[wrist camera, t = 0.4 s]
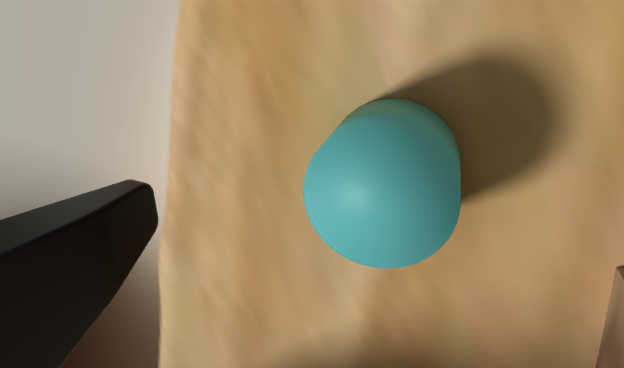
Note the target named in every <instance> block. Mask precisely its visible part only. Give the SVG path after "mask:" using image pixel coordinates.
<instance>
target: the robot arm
mask: <svg viewBox="0 0 624 368" xmlns="http://www.w3.org/2000/svg"><path fill="white" fill-rule="evenodd" d="M157 225H158V214H157V209H156V203H155V197H154V192H153V189H152V187H151V186H150V185H149V184H147V183H144V182H140V181H136V180H125V181H122V182H119V183H116V184H113V185H109V186H106V187H103V188H100V189H97V190H94V191H91V192H87V193H84V194H81V195H78V196H75V197H72V198H69V199H65V200H62V201H59V202H56V203H53V204H49V205H46V206H43V207H40V208H37V209H33V210H30V211H27V212H24V213H21V214H18V215H15V216H11V217H8V218H5V219H2V220H0V368H59V367H60V366H61V365H62V364H63V362H64V361H65V360H66V358H67V357H68V356H69V355H70V353H71V352H72V351H73V349H74V348H75V347H76V346H77V344H78V343H79V342H80V340H81V339H82V338H83V337H84V335H85V334H86V333H87V331H88V330H89V329H90V327H91V326H92V325H93V324H94V322H95V321H96V320H97V318H98V317H99V316H100V315H101V313H102V312H103V311H104V309H105V308H106V307H107V305H108V304H109V303H110V301H111V300H112V299H113V297H114V296H115V294H116V293H117V292H118V290H119V289H120V287H121V285H122V284H123V282H124V281H125V279H126V277H127V276H128V274H129V273H130V271H131V270H132V268H133V266H134V265H135V263H136V261H137V260H138V258H139V257H140V255H141V254H142V252H143V250H144V249H145V247H146V246H147V244H148V242H149V241H150V239H151V237H152V236H153V234H154V233H155V231H156V228H157Z"/></svg>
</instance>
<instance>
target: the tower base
mask: <svg viewBox="0 0 624 368" xmlns="http://www.w3.org/2000/svg"><path fill="white" fill-rule="evenodd" d="M596 368H624V268H623V267H616V271H615V276H614V281H613V286H612V291H611V296H610V301H609V306H608V311H607V315H606V320H605V325H604V330H603V335H602V340H601V345H600V350H599V355H598V360H597V365H596Z"/></svg>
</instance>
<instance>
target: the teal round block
mask: <svg viewBox="0 0 624 368" xmlns="http://www.w3.org/2000/svg"><path fill="white" fill-rule="evenodd" d="M303 195H304V203H305V207H306V211H307V214H308V217H309V219H310V222H311V223H312V225H313V227H314V229H315V230H316V232H317V233H318V234H319V236H320V237H321V238H322V239H323V240H324V242H325V243H326V244H327V245H328V246H330V247H331V248H332V249H333V250H334V251H336V252H337V253H339V254H340V255H342V256H343V257H345V258H347V259H349V260H351V261H354V262H356V263H359V264H362V265H365V266H369V267H375V268H399V267H405V266H409V265H412V264H415V263H418V262H420V261H422V260H424V259H426V258H428V257H429V256H431V255H432V254H434V253H435V252H436V251H437V250H439V249H440V248H441V247H442V246H443V245H444V244H445V242H446V241H447V240H448V239H449V237H450V236H451V234H452V232H453V230H454V228H455V226H456V224H457V220H458V217H459V213H460V206H461V156H460V150H459V146H458V143H457V140H456V138H455V136H454V134H453V132H452V130H451V129H450V127H449V126H448V125H447V123H446V122H445V121H444V120H443V119H442V118H441V117H440V116H439V115H438V114H437V113H435V112H434V111H432V110H431V109H429V108H428V107H426V106H424V105H422V104H419V103H417V102H414V101H410V100H405V99H397V98H389V99H380V100H375V101H372V102H369V103H367V104H365V105H362V106H360V107H359V108H357V109H356V110H354V111H353V112H351V113H350V114H349V115H348V116H347V117H346V118H345V119H344V120H343V121H342V123H341V124H340V125H339V126H338V127H337V128H336V130H335V131H334V132H333V133H332V134H331V135H330V137H329V138H328V139H327V140H326V141H325V143H324V144H323V145H322V146H321V147H320V148H319V150H318V151H317V152H316V153H315V155H314V157H313V158H312V160H311V162H310V164H309V166H308V168H307V172H306V175H305V180H304V192H303Z"/></svg>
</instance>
